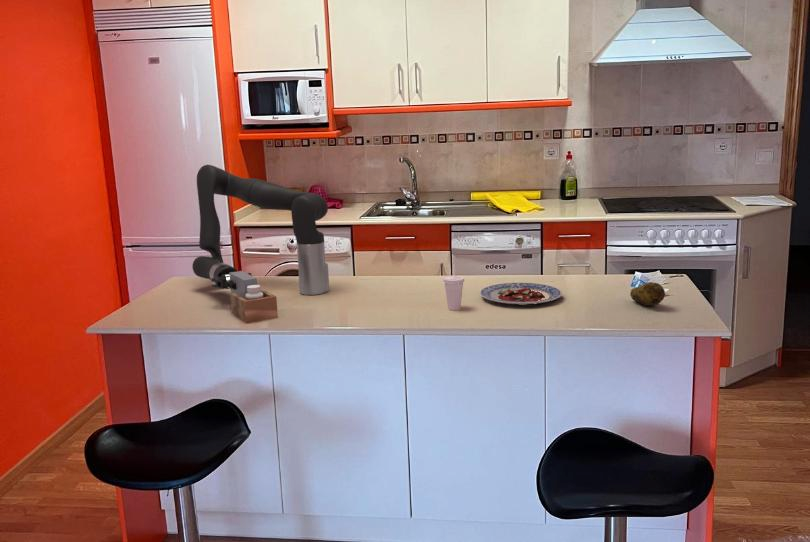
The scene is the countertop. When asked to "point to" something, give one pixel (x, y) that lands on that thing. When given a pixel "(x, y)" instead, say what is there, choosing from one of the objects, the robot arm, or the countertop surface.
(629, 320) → the countertop surface
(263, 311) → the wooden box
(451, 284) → the smoothie
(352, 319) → the countertop surface
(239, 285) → the grey rectangular box
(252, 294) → the supplement bottle
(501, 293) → the ceramic plate
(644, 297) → the potato
